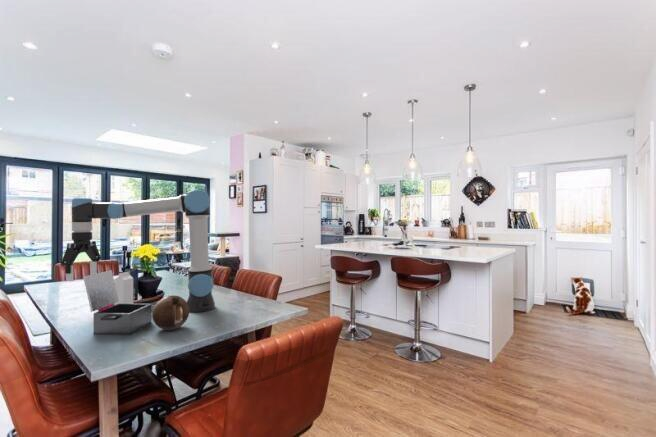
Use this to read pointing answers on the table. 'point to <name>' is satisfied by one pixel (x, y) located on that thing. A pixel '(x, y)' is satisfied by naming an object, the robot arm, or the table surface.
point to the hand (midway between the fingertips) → (82, 278)
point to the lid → (100, 290)
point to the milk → (124, 288)
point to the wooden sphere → (170, 312)
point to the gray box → (122, 319)
